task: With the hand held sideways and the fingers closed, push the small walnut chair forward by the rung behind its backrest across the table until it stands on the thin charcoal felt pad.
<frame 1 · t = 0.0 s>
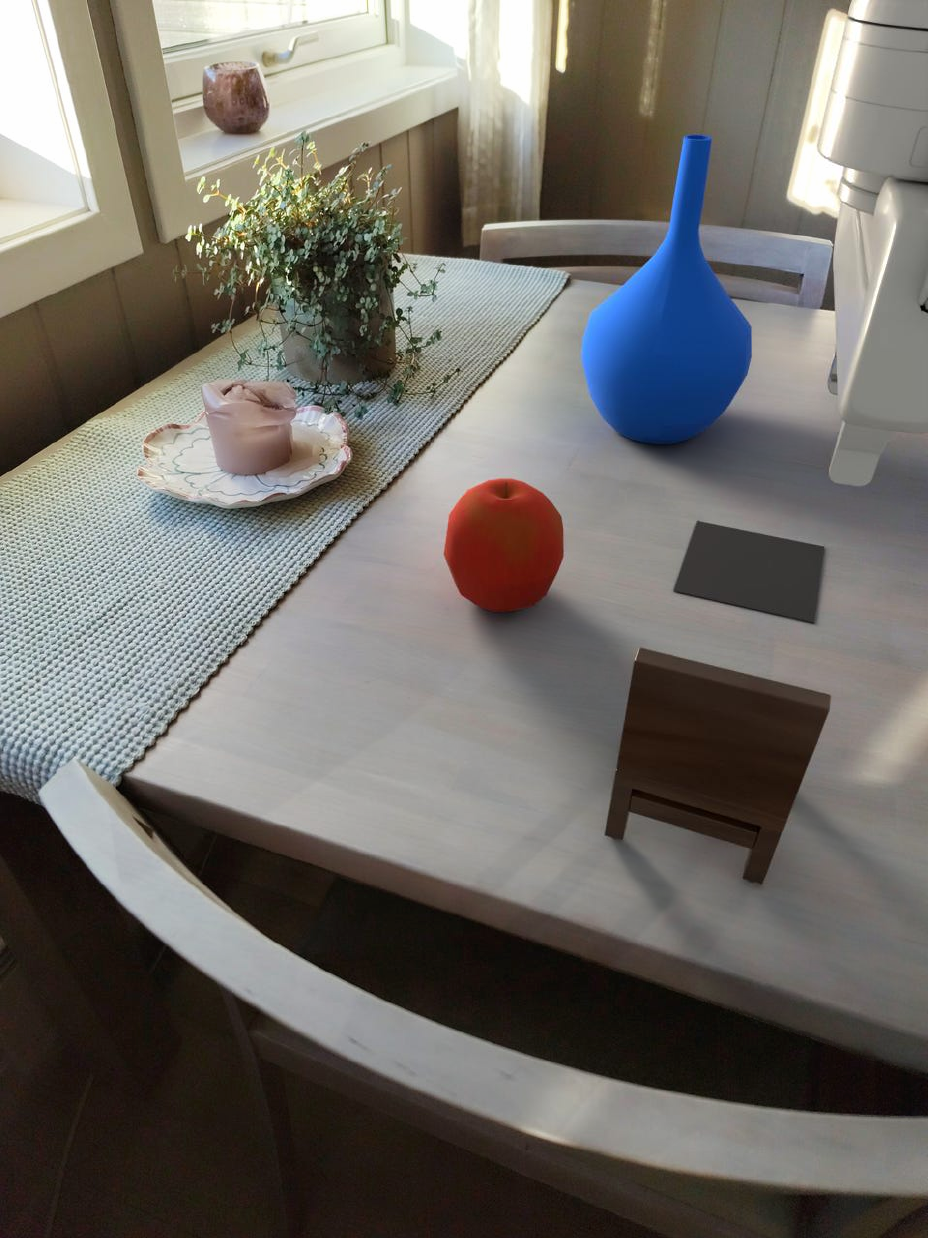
hand: (844, 430, 43), 27 cm above the table, tool pointing down, fingers open, 8 cm apart
apple: (502, 596, 77), on the table
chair: (693, 805, 59), on the table
pad: (751, 568, 79), on the table
vase: (653, 426, 101), on the table
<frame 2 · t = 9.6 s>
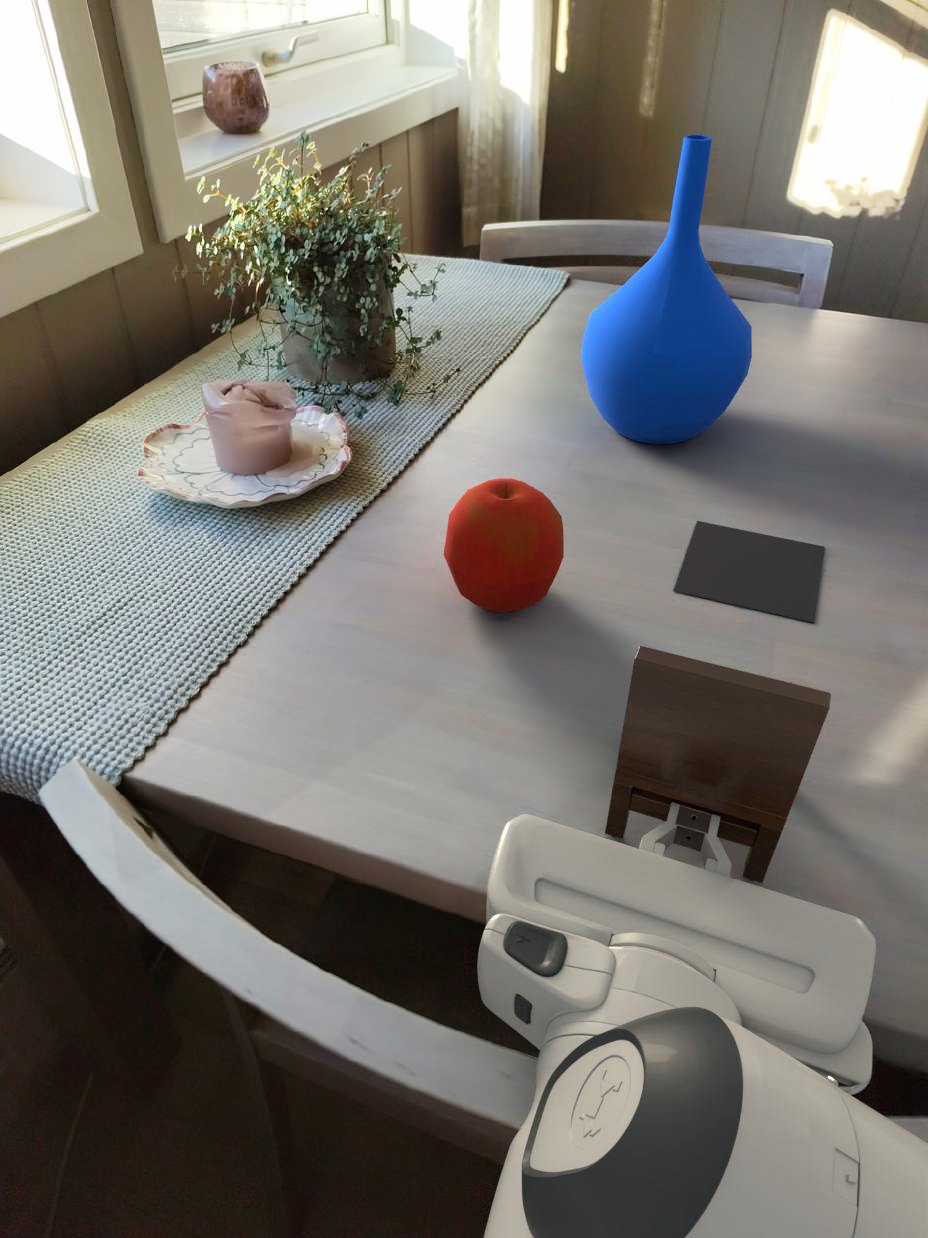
hand: (694, 815, 52), 5 cm above the table, tool horizontal, fingers closed, pressing on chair
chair: (694, 804, 59), on the table, touching gripper
everything else where it was.
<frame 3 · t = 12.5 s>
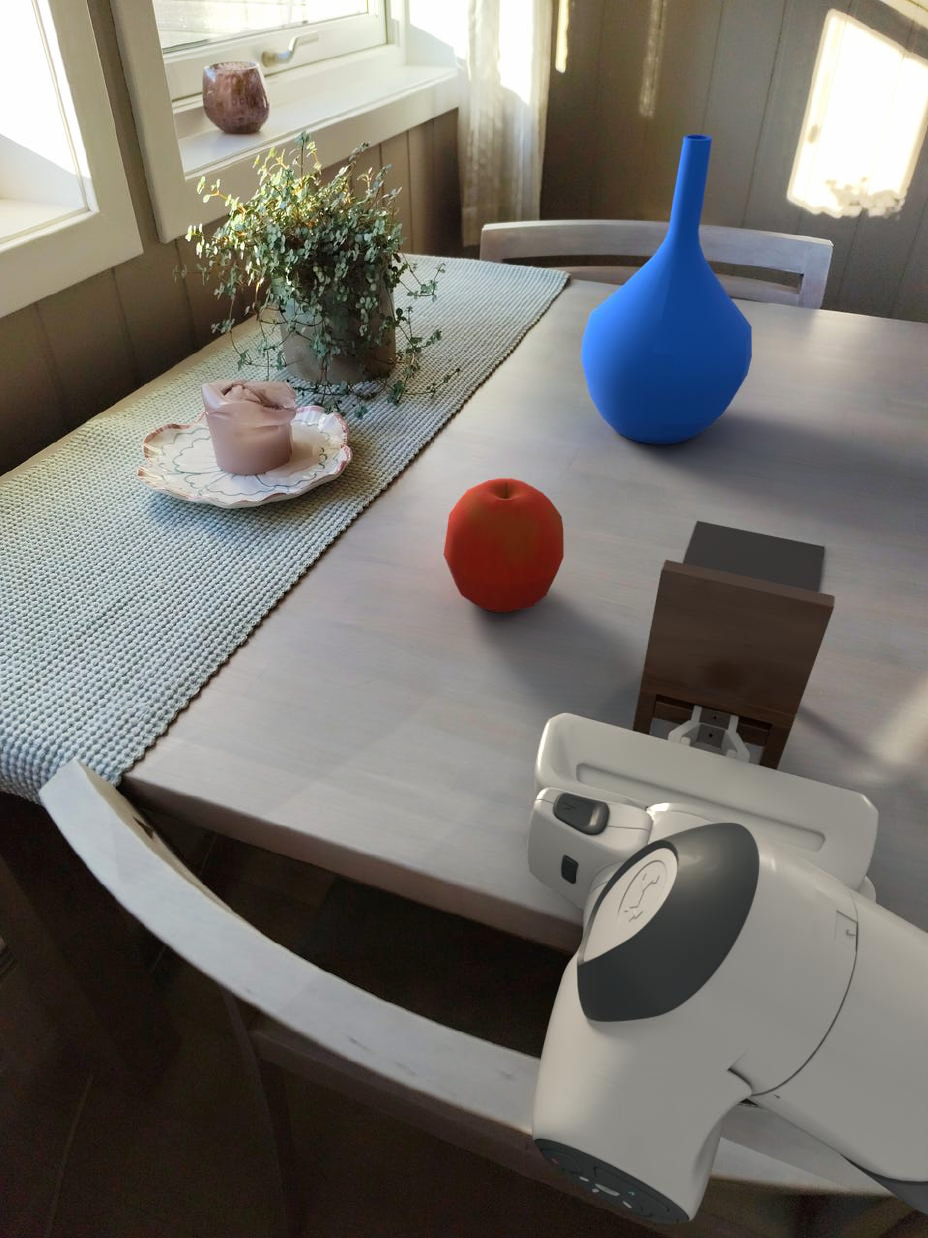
hand: (714, 717, 58), 5 cm above the table, tool horizontal, fingers closed, pressing on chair
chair: (709, 718, 65), on the table, touching gripper
everything else where it was.
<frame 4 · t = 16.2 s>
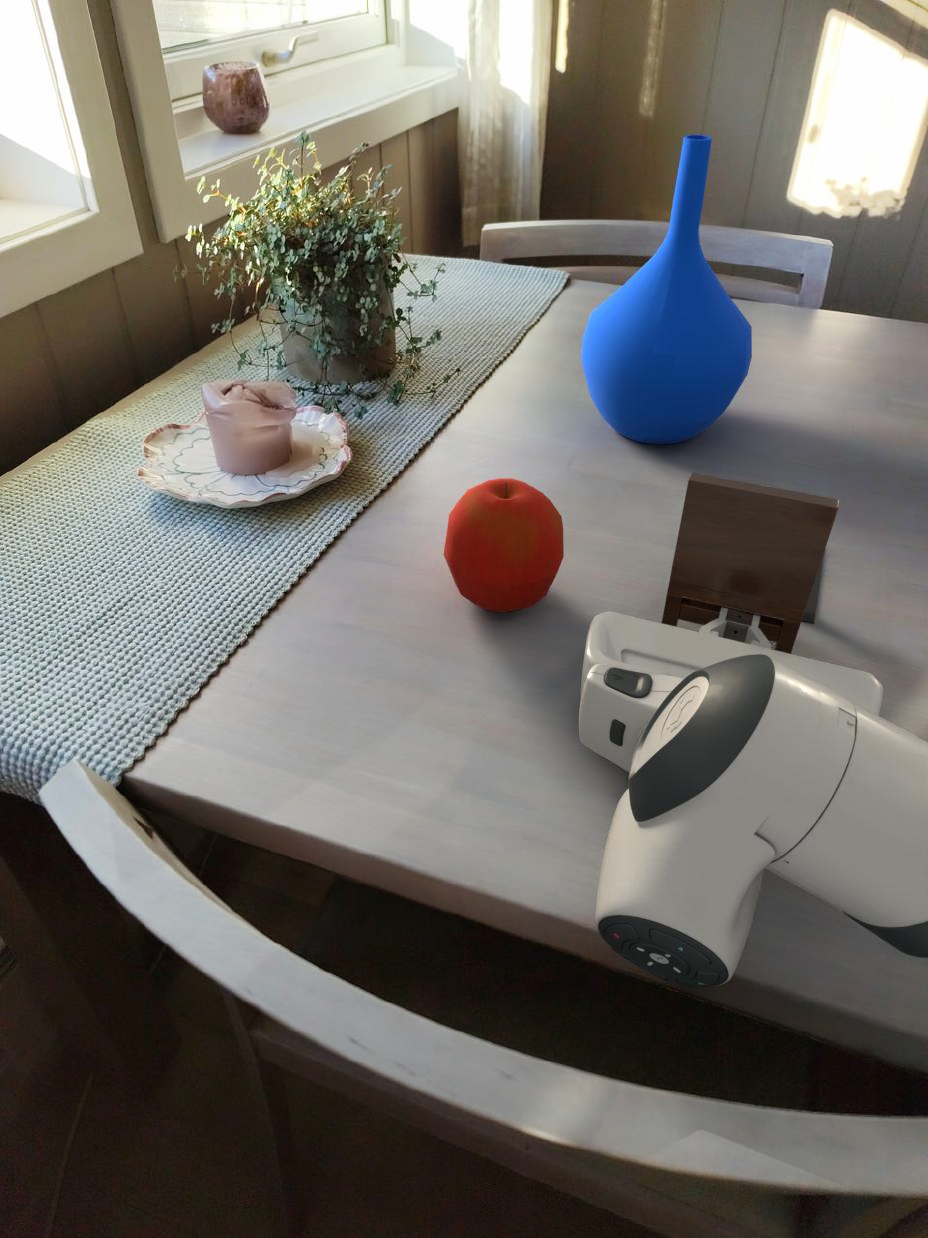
hand: (739, 618, 66), 5 cm above the table, tool horizontal, fingers closed
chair: (727, 625, 73), on the table
everything else where it was.
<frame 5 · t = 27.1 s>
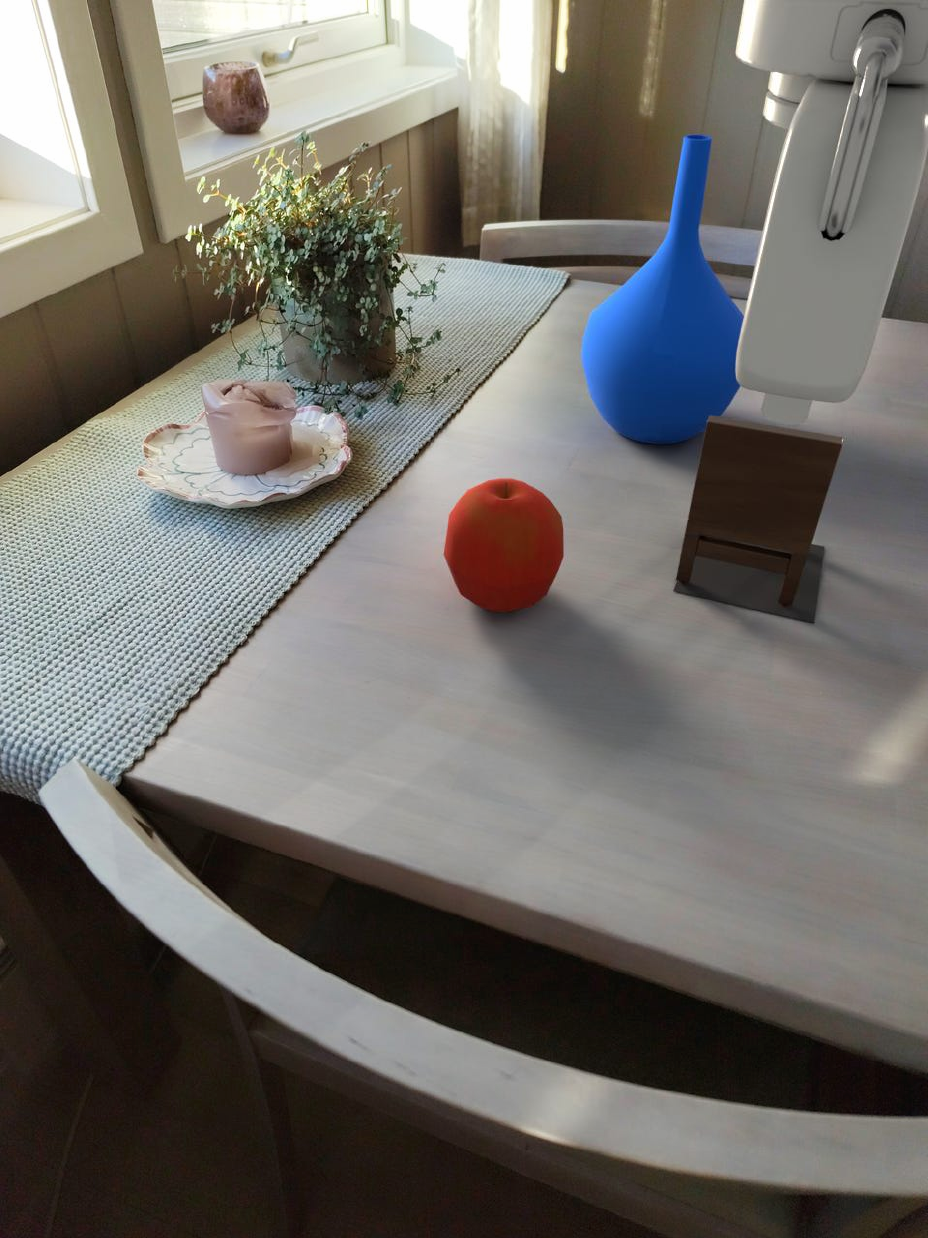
hand: (785, 408, 36), 31 cm above the table, tool pointing down, fingers closed
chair: (739, 565, 80), resting on pad
everything else where it was.
at the end: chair inside the target area on the pad (1.1 cm from its centre), point 0.1 cm above the pad's base; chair tilted 0°; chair moved 28.9 cm from its start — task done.
